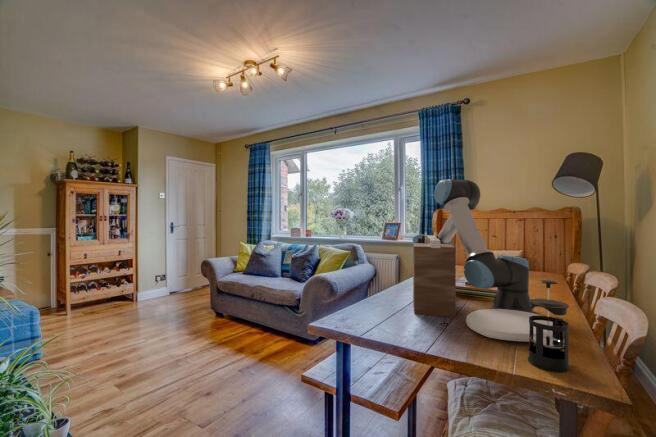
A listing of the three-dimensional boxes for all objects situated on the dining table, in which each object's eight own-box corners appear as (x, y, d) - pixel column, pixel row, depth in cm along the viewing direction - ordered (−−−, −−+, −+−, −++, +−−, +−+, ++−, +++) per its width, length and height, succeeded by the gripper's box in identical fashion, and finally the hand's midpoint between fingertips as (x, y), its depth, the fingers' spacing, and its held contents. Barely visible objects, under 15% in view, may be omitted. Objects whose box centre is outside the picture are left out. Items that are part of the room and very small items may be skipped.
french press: (557, 376, 79) (557, 286, 79) (519, 361, 87) (519, 279, 87) (579, 365, 85) (579, 281, 85) (541, 352, 93) (542, 275, 93)
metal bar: (425, 241, 155) (425, 235, 155) (432, 241, 154) (432, 235, 154) (431, 247, 124) (431, 240, 124) (440, 248, 123) (440, 240, 123)
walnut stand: (413, 303, 145) (413, 243, 145) (449, 305, 141) (449, 243, 141) (414, 313, 129) (414, 246, 129) (455, 316, 126) (455, 247, 125)
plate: (481, 331, 98) (455, 306, 124) (483, 351, 98) (457, 323, 124) (576, 324, 95) (529, 301, 122) (579, 345, 95) (531, 317, 122)
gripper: (444, 261, 161) (450, 241, 141) (411, 259, 165) (412, 240, 145) (443, 247, 165) (449, 226, 145) (411, 247, 168) (412, 226, 149)
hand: (430, 234), depth 145 cm, fingers closed on metal bar, 3 cm apart
